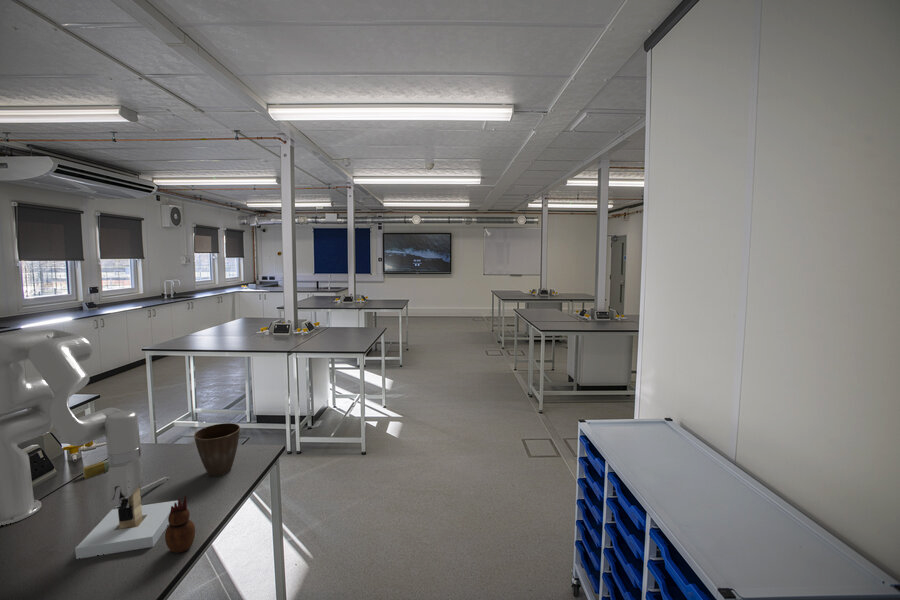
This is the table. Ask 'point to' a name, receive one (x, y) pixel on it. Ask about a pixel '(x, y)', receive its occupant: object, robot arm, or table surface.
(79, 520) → the table surface
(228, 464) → the plant pot
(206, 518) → the table surface
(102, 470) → the medication box
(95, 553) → the socket plate
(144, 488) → the caliper
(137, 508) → the maple peg
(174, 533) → the wooden figurine
